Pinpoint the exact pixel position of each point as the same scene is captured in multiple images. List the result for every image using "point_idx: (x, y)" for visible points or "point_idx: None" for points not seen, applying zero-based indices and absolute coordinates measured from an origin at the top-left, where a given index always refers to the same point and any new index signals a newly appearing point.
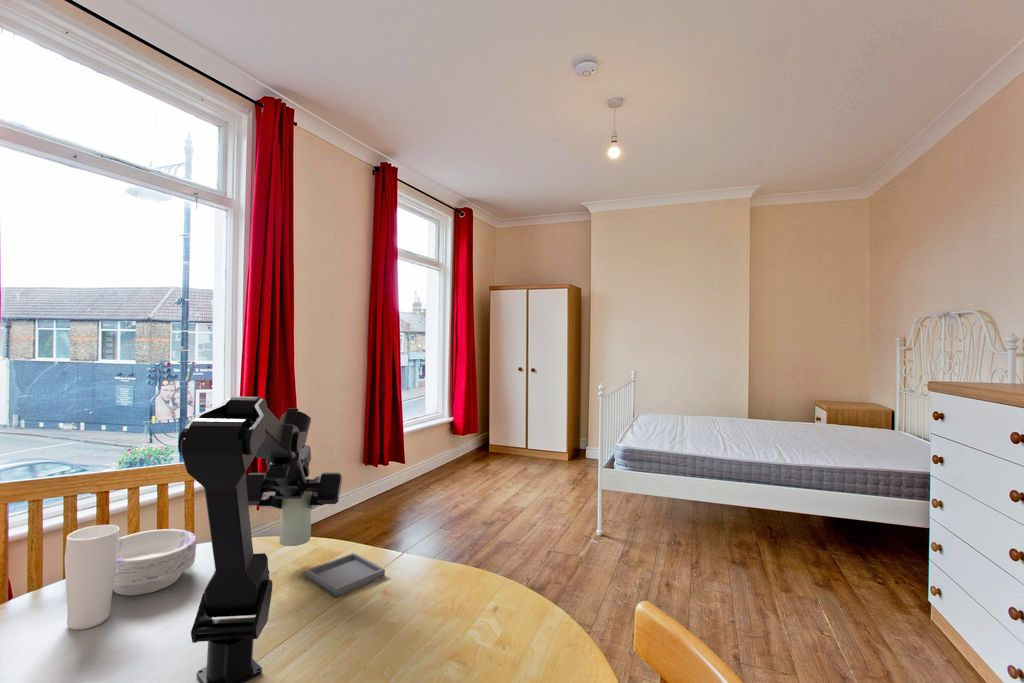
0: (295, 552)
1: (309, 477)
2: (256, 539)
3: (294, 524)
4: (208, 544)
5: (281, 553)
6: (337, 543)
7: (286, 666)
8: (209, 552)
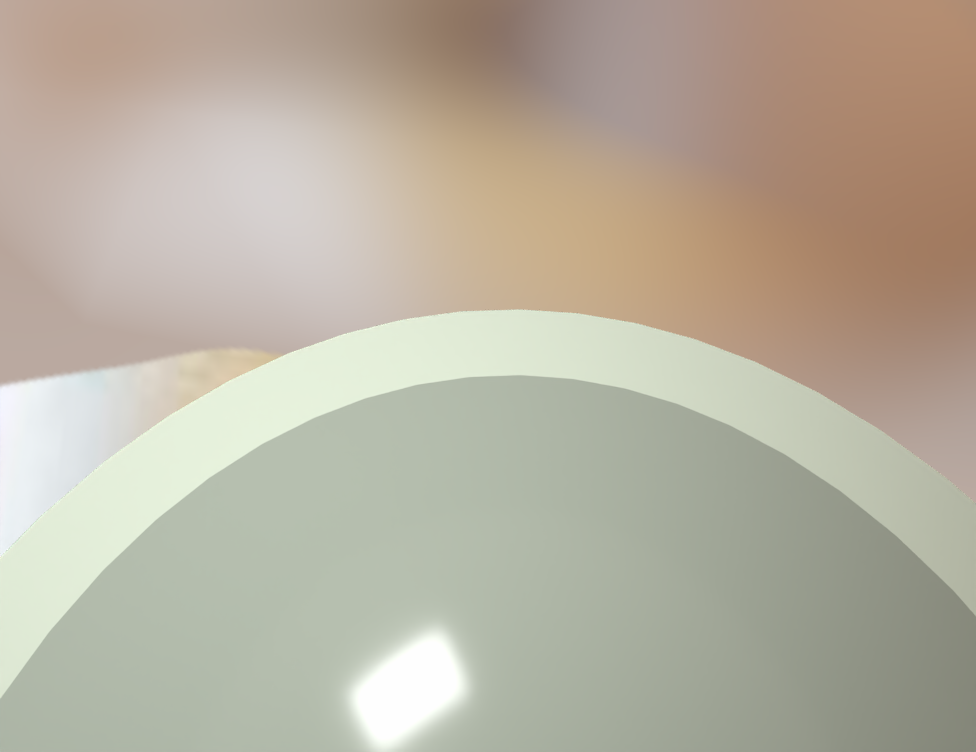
0: None
1: (950, 591)
2: (254, 363)
3: None
4: (31, 390)
5: None
6: None
7: None
8: (23, 484)
